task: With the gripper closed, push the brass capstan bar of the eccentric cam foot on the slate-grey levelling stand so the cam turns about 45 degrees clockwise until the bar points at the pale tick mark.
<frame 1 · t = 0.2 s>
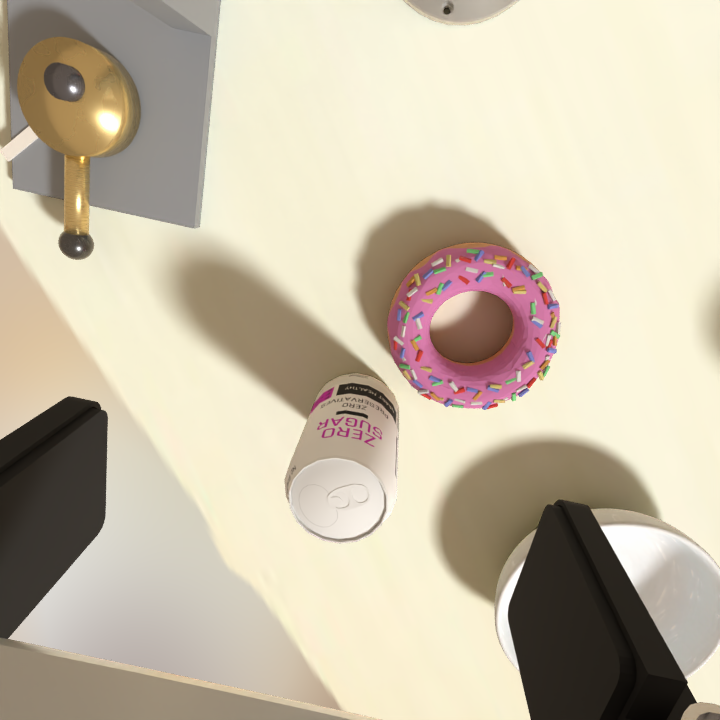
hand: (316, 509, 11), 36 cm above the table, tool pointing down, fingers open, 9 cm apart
donut: (468, 319, 47), on the table
stand: (115, 82, 42), on the table
white soda can: (357, 409, 50), on the table
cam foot: (76, 157, 41), point 4 cm above the table, hinge at 0.0°
serving bowl: (585, 566, 54), on the table
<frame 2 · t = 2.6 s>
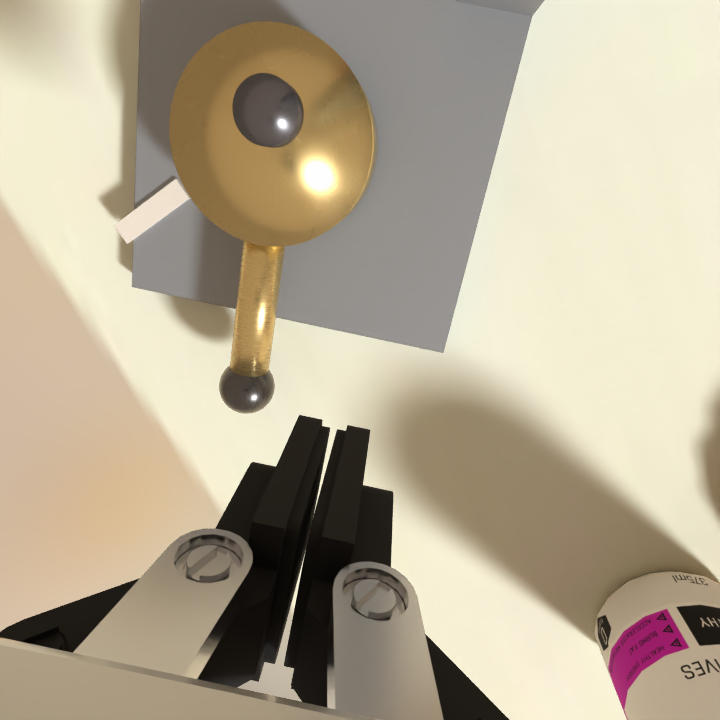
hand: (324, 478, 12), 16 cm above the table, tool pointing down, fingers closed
stand: (322, 104, 23), on the table
white soda can: (660, 614, 31), on the table
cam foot: (263, 245, 22), point 4 cm above the table, hinge at 0.0°
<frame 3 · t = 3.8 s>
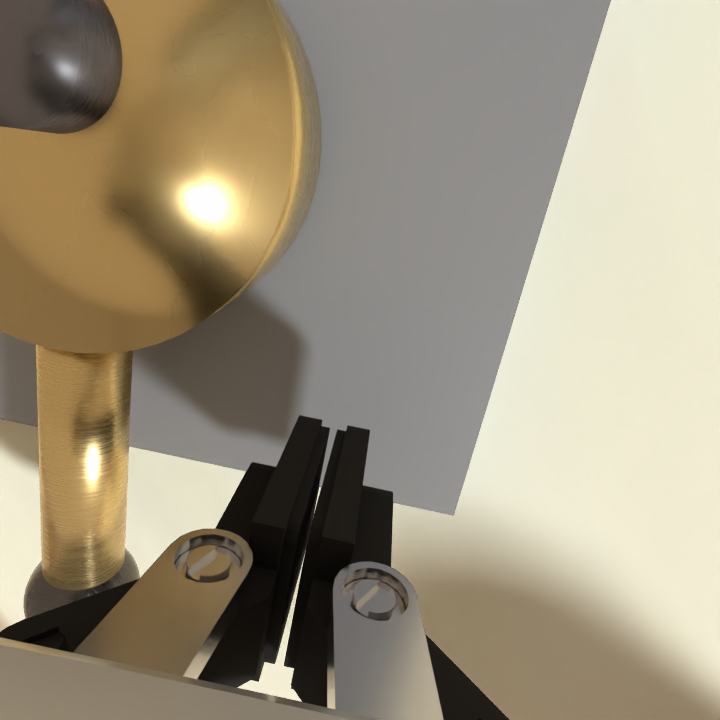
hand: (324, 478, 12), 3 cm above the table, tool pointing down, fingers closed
stand: (216, 54, 12), on the table
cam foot: (82, 341, 11), point 4 cm above the table, hinge at 0.0°
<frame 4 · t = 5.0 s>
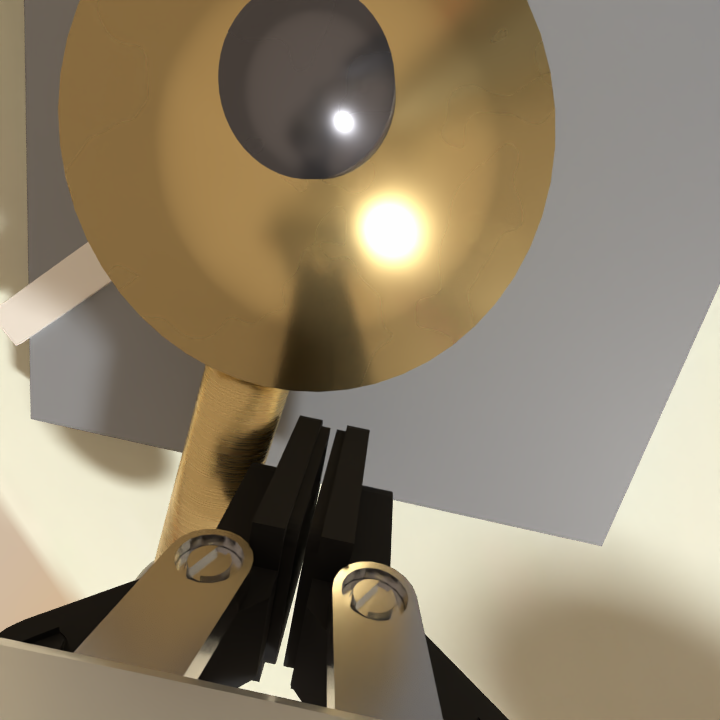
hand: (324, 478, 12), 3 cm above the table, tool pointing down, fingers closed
stand: (398, 88, 12), on the table
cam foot: (249, 368, 11), point 4 cm above the table, hinge at -7.7°, touching gripper
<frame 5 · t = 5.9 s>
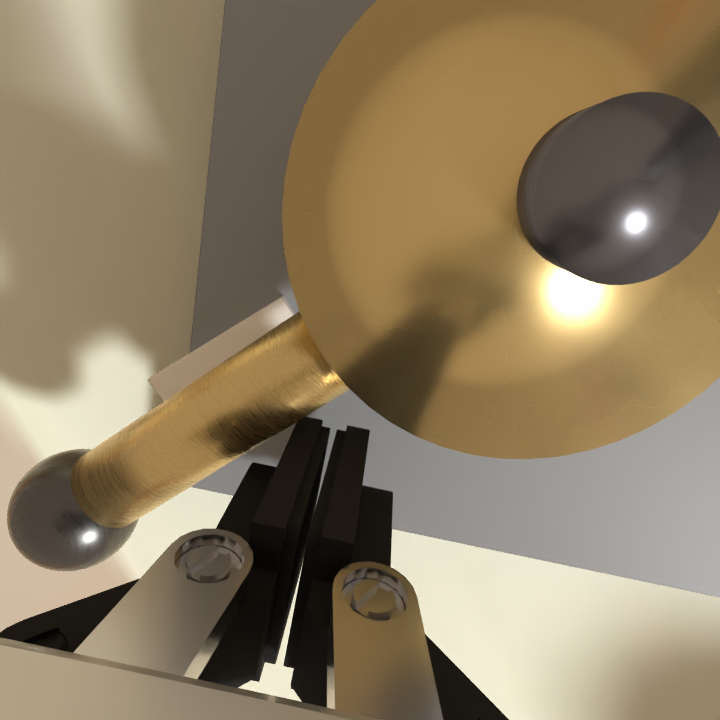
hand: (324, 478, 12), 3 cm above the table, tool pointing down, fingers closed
stand: (580, 154, 12), on the table
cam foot: (327, 350, 10), point 4 cm above the table, hinge at -44.5°, touching gripper
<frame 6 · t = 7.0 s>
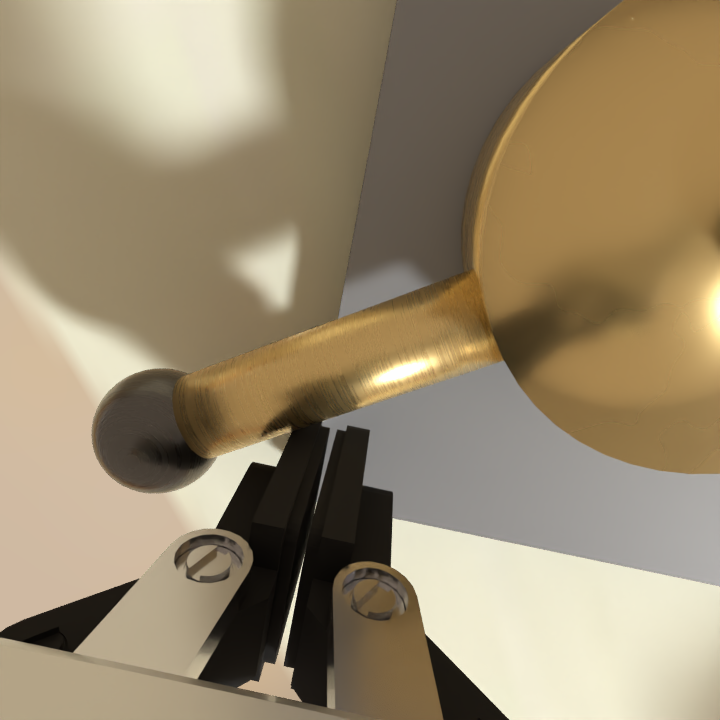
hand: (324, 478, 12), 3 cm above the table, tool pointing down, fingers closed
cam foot: (476, 321, 10), point 4 cm above the table, hinge at -57.4°, touching gripper
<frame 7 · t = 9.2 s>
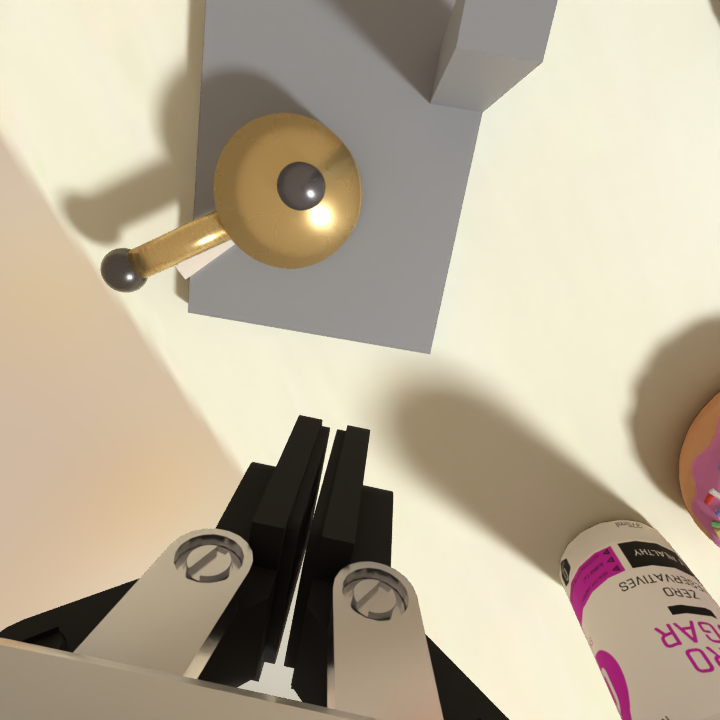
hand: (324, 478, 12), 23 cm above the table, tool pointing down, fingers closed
stand: (333, 172, 32), on the table
white soda can: (610, 558, 39), on the table
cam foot: (224, 224, 29), point 4 cm above the table, hinge at -57.5°
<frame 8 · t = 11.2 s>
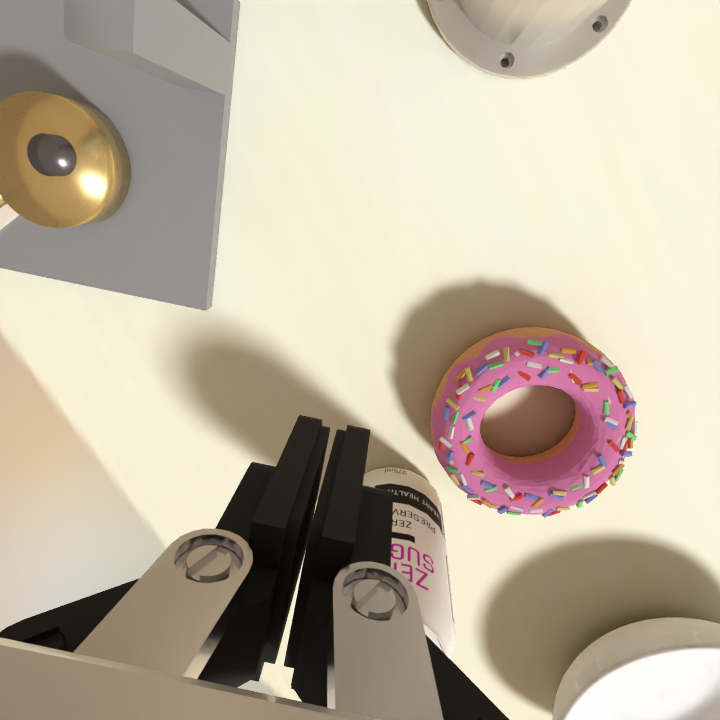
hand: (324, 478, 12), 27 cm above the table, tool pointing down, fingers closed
donut: (521, 407, 40), on the table
stand: (112, 146, 36), on the table
white soda can: (392, 503, 44), on the table
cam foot: (3, 187, 34), point 4 cm above the table, hinge at -57.5°
serving bowl: (650, 670, 48), on the table
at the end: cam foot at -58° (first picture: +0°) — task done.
